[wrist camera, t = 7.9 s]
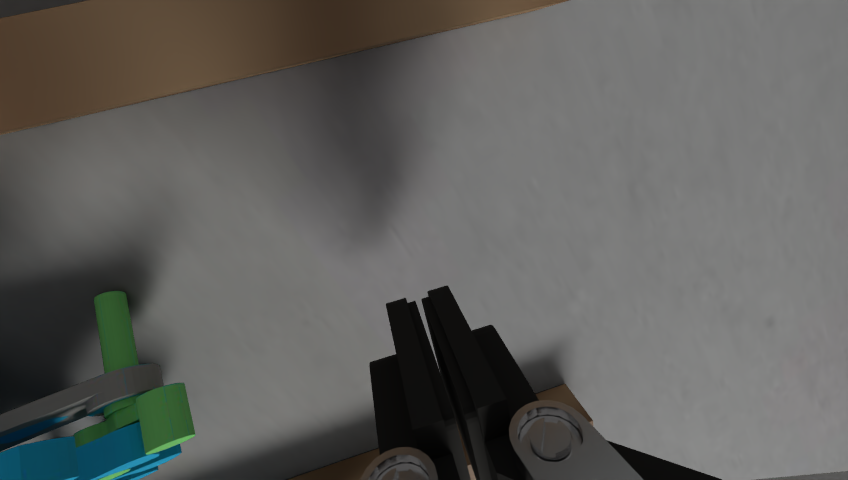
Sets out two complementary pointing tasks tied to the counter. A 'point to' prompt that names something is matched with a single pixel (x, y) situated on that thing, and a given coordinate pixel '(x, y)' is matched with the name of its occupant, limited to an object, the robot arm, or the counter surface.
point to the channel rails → (207, 65)
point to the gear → (104, 395)
